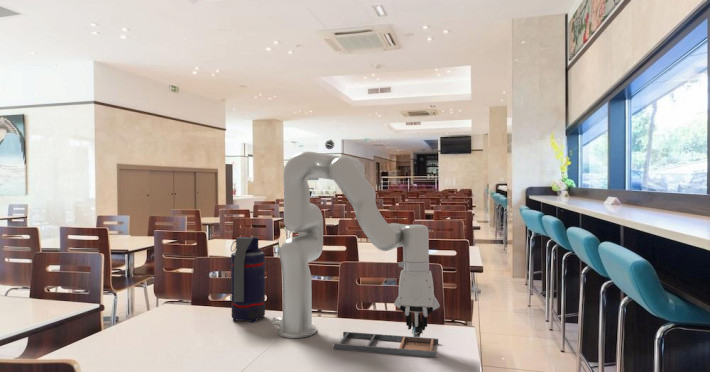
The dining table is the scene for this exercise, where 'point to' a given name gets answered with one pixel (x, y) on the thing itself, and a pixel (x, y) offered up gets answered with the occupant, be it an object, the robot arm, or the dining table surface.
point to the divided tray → (412, 348)
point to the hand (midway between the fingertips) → (416, 327)
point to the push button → (416, 321)
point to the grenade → (247, 280)
